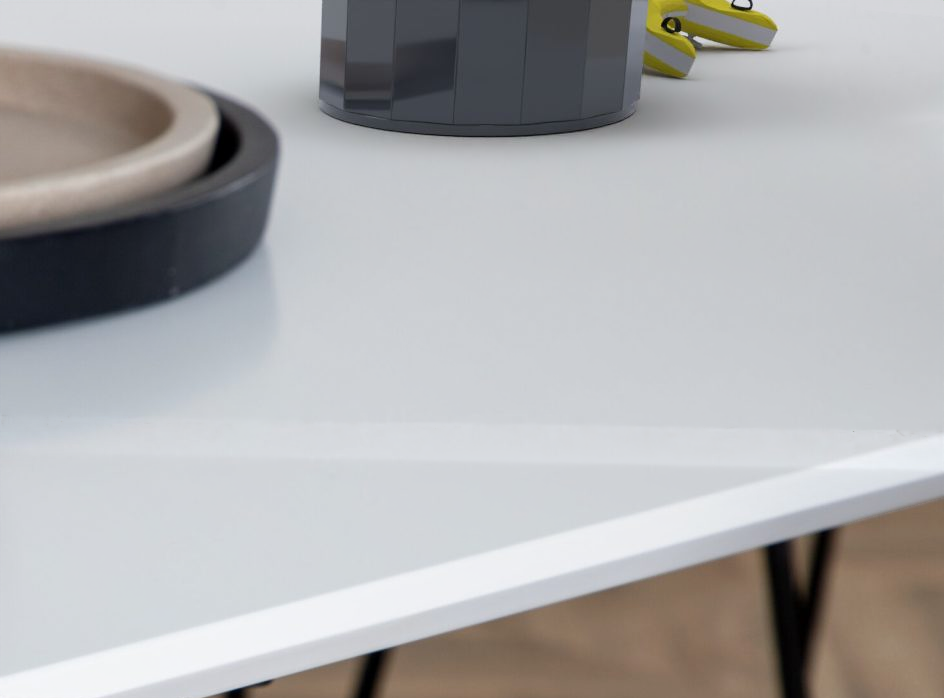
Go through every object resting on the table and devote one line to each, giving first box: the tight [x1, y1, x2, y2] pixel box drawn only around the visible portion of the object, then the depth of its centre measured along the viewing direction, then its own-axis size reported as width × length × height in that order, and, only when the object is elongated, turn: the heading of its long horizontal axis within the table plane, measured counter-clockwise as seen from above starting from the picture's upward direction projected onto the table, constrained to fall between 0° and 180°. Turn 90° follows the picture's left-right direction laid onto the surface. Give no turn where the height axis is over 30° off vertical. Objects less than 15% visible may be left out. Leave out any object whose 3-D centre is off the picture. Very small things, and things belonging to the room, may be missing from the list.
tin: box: [318, 0, 649, 137], centre depth 105 cm, size 15×15×8 cm
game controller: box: [643, 0, 778, 78], centre depth 116 cm, size 10×6×4 cm, turn 139°
